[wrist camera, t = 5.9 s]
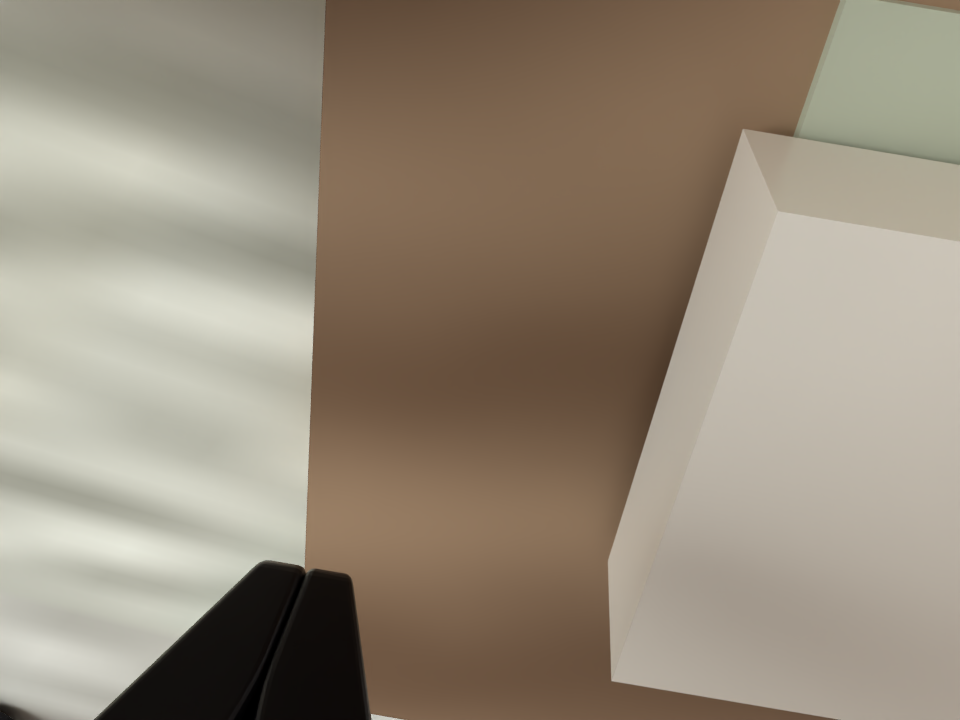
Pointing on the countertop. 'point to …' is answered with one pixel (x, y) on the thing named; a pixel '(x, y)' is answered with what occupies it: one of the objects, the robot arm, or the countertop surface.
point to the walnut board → (544, 302)
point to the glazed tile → (806, 449)
